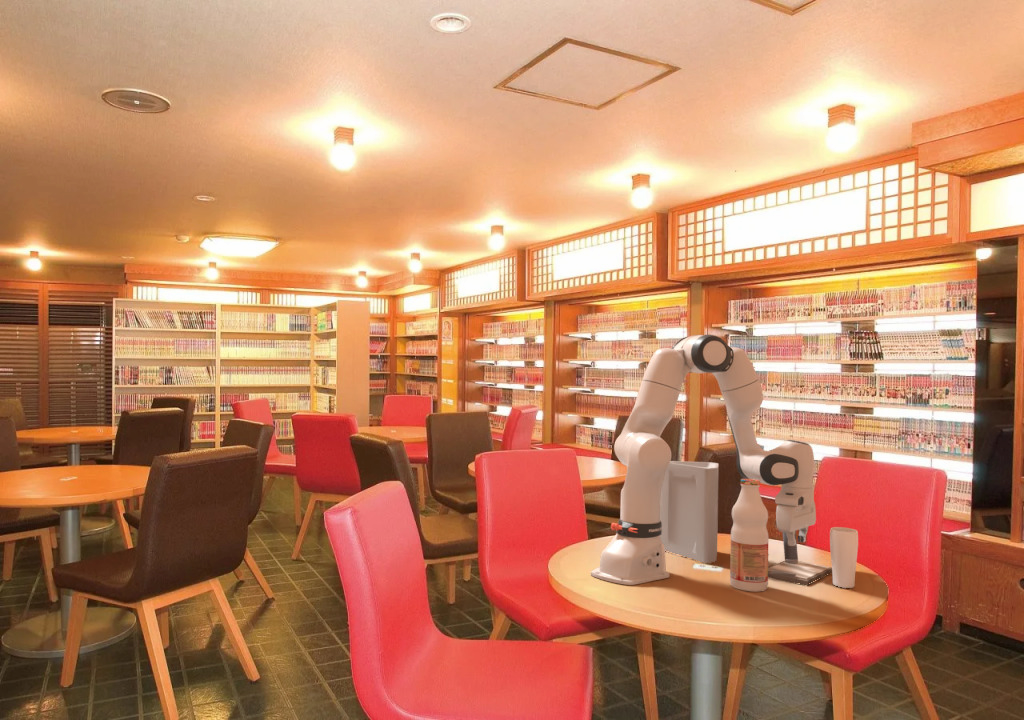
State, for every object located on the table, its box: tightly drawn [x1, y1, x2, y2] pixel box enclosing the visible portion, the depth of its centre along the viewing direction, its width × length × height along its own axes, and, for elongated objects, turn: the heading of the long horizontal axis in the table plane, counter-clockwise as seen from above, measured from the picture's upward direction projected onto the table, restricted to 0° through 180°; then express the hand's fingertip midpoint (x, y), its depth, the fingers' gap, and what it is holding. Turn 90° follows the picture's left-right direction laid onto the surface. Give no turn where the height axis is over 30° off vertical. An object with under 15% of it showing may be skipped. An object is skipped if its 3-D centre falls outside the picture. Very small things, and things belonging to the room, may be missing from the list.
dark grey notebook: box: [768, 560, 832, 586], centre depth 197 cm, size 20×13×2 cm, turn 136°
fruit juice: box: [729, 478, 769, 593], centre depth 183 cm, size 9×9×28 cm
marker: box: [782, 530, 799, 563], centre depth 204 cm, size 4×4×12 cm
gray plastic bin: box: [660, 460, 719, 564], centre depth 218 cm, size 19×15×28 cm
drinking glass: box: [829, 526, 859, 589], centre depth 185 cm, size 7×7×15 cm
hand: (796, 543), depth 203 cm, fingers open, 6 cm apart
